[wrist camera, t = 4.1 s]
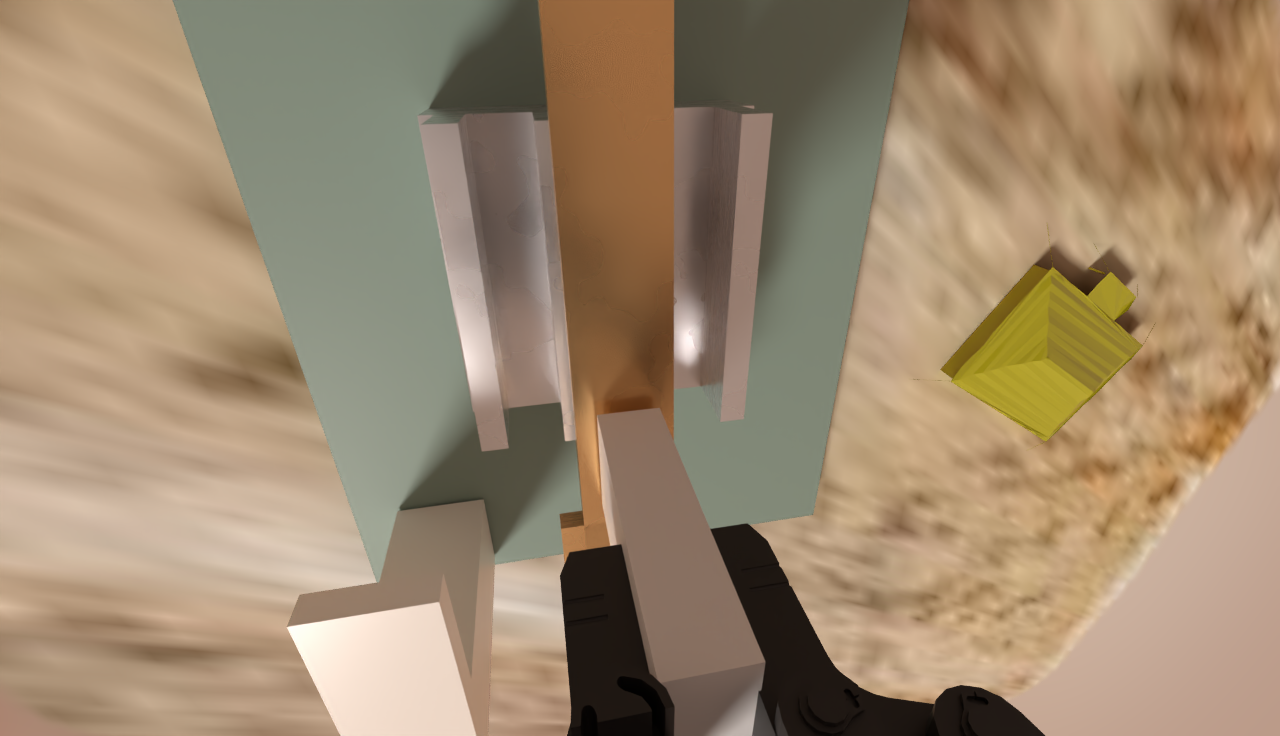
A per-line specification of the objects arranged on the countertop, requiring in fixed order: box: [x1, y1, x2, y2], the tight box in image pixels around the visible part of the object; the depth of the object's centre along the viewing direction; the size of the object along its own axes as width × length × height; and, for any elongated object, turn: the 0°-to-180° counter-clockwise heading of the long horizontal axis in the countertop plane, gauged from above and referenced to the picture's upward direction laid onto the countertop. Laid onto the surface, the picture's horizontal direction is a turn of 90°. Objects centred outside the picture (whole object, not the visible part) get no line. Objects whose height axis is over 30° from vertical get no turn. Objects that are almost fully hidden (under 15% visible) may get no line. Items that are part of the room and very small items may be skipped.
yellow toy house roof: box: [915, 226, 1155, 446], centre depth 23 cm, size 10×9×3 cm
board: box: [173, 0, 909, 583], centre depth 15 cm, size 25×18×7 cm
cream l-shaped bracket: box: [287, 499, 495, 736], centre depth 17 cm, size 7×3×8 cm, turn 1°
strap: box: [537, 0, 674, 562], centre depth 13 cm, size 16×4×1 cm, turn 1°
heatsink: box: [417, 100, 773, 452], centre depth 15 cm, size 8×8×4 cm
